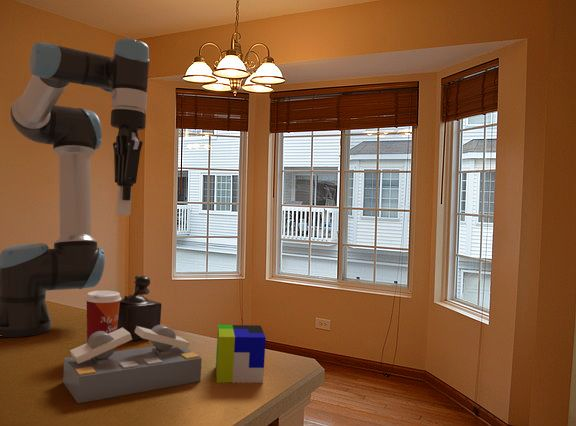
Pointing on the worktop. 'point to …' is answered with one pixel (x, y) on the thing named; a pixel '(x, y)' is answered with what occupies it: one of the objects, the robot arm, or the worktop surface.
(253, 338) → the puzzle toy
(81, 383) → the console
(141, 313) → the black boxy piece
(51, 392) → the worktop surface
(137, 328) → the rocker right
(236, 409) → the worktop surface
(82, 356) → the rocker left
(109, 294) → the coffee cup
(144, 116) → the robot arm
